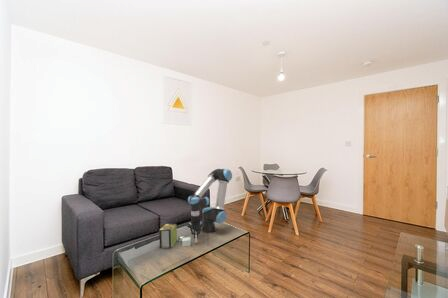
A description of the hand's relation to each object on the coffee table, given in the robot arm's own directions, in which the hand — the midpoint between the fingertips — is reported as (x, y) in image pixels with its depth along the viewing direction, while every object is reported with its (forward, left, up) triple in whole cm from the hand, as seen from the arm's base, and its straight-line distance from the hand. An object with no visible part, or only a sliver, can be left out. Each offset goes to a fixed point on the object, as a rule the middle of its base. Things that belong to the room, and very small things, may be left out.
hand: (196, 241), depth 182 cm
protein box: (-4, -24, -2) cm, 25 cm away
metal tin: (-9, -13, -2) cm, 16 cm away
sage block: (0, -8, -2) cm, 9 cm away
